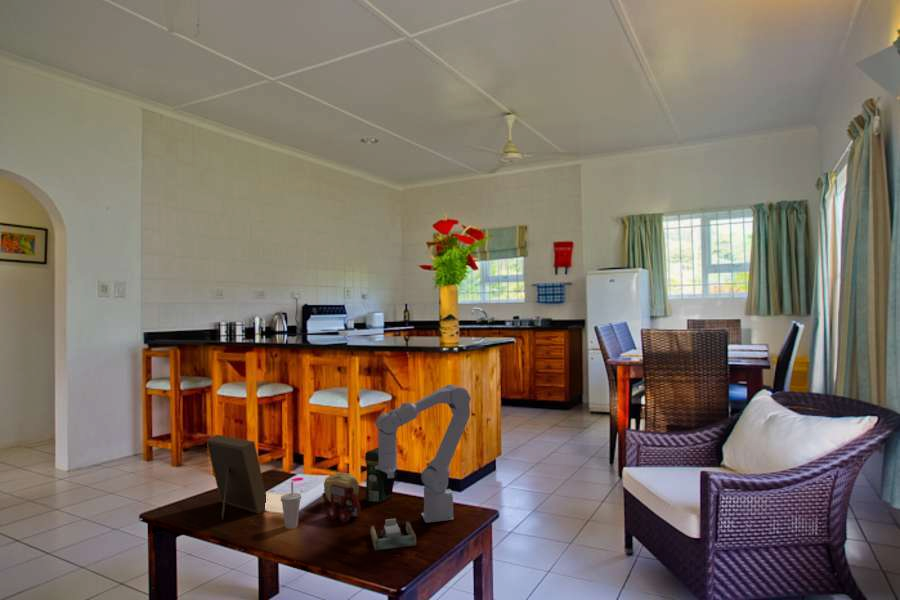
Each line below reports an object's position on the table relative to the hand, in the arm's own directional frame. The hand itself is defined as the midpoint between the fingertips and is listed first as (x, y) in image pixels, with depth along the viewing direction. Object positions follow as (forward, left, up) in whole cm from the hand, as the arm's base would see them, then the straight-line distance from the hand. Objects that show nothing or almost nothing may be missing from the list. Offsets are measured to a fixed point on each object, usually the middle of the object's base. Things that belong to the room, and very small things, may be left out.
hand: (388, 494), depth 169 cm
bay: (0, +11, -10) cm, 14 cm away
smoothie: (+30, -8, -10) cm, 33 cm away
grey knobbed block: (0, +10, -10) cm, 14 cm away
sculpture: (+13, -26, -10) cm, 31 cm away
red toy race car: (+13, -11, -10) cm, 20 cm away
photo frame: (+51, -29, -10) cm, 60 cm away
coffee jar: (0, -26, -10) cm, 28 cm away
